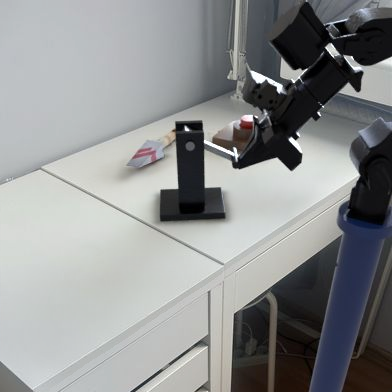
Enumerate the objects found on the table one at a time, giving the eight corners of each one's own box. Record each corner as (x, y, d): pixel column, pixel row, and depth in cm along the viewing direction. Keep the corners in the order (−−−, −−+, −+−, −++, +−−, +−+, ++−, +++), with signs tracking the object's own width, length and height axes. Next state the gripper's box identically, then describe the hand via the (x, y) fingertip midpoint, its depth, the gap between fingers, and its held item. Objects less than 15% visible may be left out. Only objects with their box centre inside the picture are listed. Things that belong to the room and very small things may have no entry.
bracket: (221, 193, 92) (222, 114, 82) (225, 219, 85) (226, 137, 75) (160, 195, 91) (154, 116, 82) (160, 221, 85) (153, 140, 75)
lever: (232, 158, 85) (239, 145, 84) (235, 173, 81) (242, 160, 80) (178, 134, 82) (184, 120, 81) (178, 149, 78) (185, 134, 77)
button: (260, 125, 105) (261, 116, 104) (253, 131, 103) (253, 122, 102) (244, 122, 106) (245, 113, 105) (237, 128, 104) (237, 119, 103)
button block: (283, 138, 108) (285, 121, 105) (264, 156, 102) (265, 139, 99) (233, 128, 112) (234, 111, 110) (212, 145, 106) (212, 128, 104)
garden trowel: (122, 157, 96) (170, 123, 109) (123, 171, 97) (170, 136, 111) (139, 160, 94) (186, 126, 108) (140, 174, 96) (186, 139, 110)
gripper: (267, 34, 78) (198, 112, 86) (286, 73, 65) (204, 160, 73) (311, 85, 84) (243, 154, 92) (338, 131, 71) (256, 206, 78)
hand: (236, 166), depth 83 cm, fingers closed, pressing on lever
